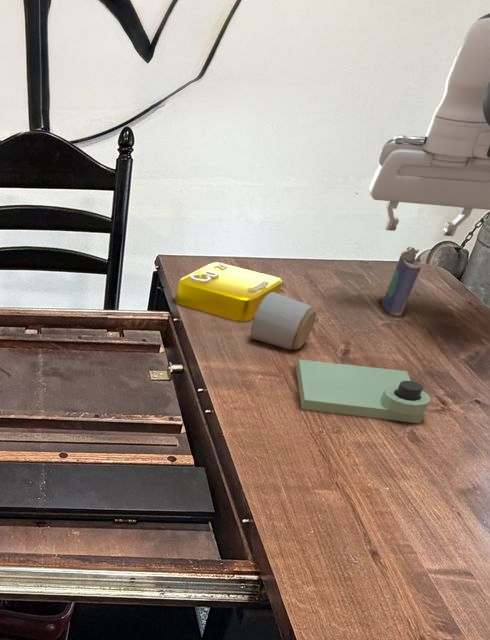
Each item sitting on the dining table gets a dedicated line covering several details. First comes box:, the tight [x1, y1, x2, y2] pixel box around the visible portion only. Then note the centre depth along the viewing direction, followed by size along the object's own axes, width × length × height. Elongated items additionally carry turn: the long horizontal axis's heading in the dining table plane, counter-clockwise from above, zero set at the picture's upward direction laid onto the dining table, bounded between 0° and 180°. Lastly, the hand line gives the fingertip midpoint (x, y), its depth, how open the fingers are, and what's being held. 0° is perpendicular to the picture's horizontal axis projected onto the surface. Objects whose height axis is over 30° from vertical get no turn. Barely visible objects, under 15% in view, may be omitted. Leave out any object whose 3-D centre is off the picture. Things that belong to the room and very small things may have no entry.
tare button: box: [395, 380, 424, 401], centre depth 99 cm, size 3×3×2 cm
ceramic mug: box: [250, 292, 317, 351], centre depth 118 cm, size 11×8×8 cm
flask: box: [382, 246, 422, 317], centre depth 129 cm, size 9×3×11 cm, turn 164°
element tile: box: [174, 261, 283, 322], centre depth 132 cm, size 15×15×5 cm
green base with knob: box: [295, 359, 432, 424], centre depth 105 cm, size 16×15×4 cm
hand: (418, 232), depth 123 cm, fingers open, 8 cm apart
